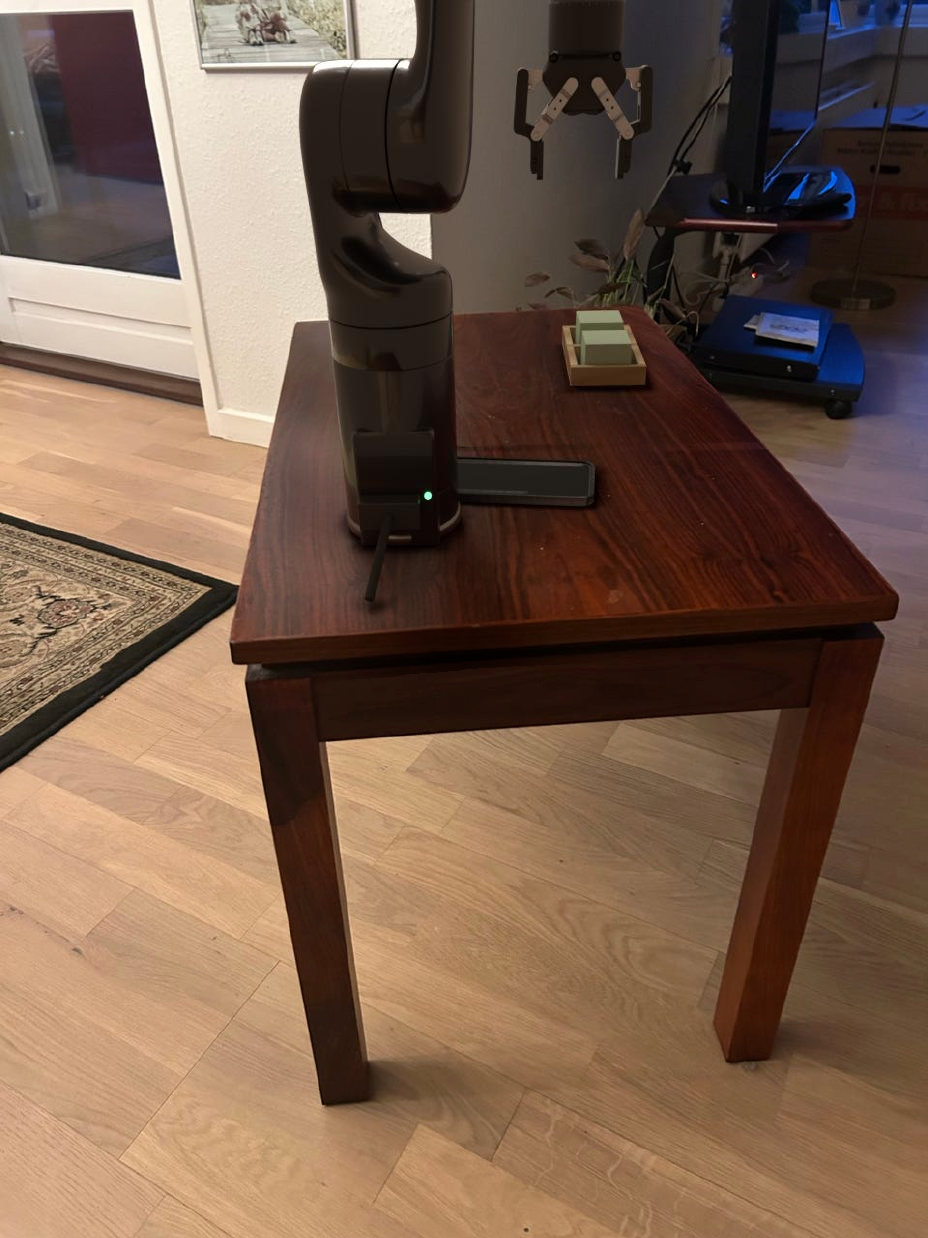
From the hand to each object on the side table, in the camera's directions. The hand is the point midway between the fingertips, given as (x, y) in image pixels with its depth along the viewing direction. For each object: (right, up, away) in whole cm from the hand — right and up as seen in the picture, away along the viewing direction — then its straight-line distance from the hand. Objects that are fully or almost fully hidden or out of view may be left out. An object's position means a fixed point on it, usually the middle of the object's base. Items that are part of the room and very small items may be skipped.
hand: (579, 178), depth 102 cm
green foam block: (+3, -20, +5) cm, 20 cm away
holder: (+3, -18, +8) cm, 20 cm away
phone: (-8, -36, -17) cm, 40 cm away
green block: (+4, -15, +11) cm, 19 cm away
